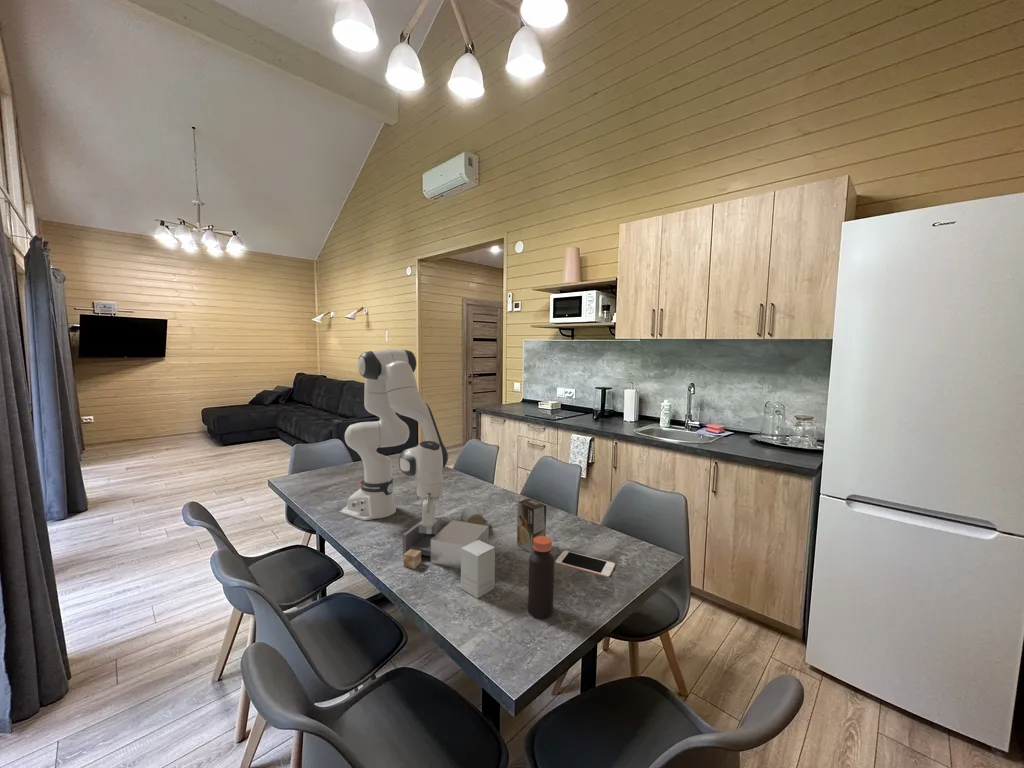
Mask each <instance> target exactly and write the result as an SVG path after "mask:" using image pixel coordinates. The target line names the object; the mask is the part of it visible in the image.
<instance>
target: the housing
mask: <svg viewBox="0 0 1024 768" xmlns="http://www.w3.org/2000/svg"><path fill="white" fill-rule="evenodd" d="M489 527H490V525H489V526H485V525H479V524H473V523H467V522H462V520H460V521H459V520H454V519H452V520H451V521H450V522H449V523H448V524H446V526H444V527H443V528H442V529H441V530H440V531H438V532H437V534H436V535H435V536H434V537H433V538H432V539H431V556H430V564H435V565H439V566H445V567H448V568H449V567H450V568H454V569H460V570H461V548H462V547H464V546H466V545H468V544H470V543H473V542H475V541H477V540H480V541H482V542H484V543H487V544H489V536H490V535H489V533H490V532H489V531H490V530H489Z"/></svg>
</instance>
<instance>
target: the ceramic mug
mask: <svg viewBox="0 0 1024 768" xmlns="http://www.w3.org/2000/svg"><path fill="white" fill-rule="evenodd" d="M460 519H461V520H460V521H461V522H467V523H473V524H479V525H485V526H489V527H490V521H489V520H487V519H486V518H484V516H483V515H482V513H481V512H480V510H479V509H478V508H477V507H476V506H475V505H469V506H466V507H465V508H464V509H463V510H462V511H461V515H460Z"/></svg>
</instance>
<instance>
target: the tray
mask: <svg viewBox="0 0 1024 768" xmlns="http://www.w3.org/2000/svg"><path fill="white" fill-rule="evenodd" d="M421 521H422V519H421V520H420V521H419V522H417V523H415V525H414V526H412V527H411V528H409V529H408V530H407V531H405V532H404V533H403V534H402V557H403V558H404V554H405V553H406V552H407V551H408V550H410V549H413V550H419V551H421V556H427V557H431V539H432V538H433V537H434V536H435V535H436V534H437V533H438V532H437V533H436V534H427V533H419V524H420V522H421Z"/></svg>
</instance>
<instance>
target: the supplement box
mask: <svg viewBox="0 0 1024 768" xmlns="http://www.w3.org/2000/svg"><path fill="white" fill-rule="evenodd" d="M495 571H496V546H494V545H491V544H489V543H488V544H487V543H484V542H482V541H480V540H477V541H475V542H473V543H470V544H468V545H466V546H464V547H462V548H461V569H460V589H461V590H462V591H464V592H466V593H468V594H469V595H471V596H472V597H474V598H476V599H479V598H480V597H482V596H484V595H485V594H487V593H489V592H490V591H493V590H494V589H495V585H496V582H495V580H496V578H495V577H496V576H495V575H496V573H495Z"/></svg>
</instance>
